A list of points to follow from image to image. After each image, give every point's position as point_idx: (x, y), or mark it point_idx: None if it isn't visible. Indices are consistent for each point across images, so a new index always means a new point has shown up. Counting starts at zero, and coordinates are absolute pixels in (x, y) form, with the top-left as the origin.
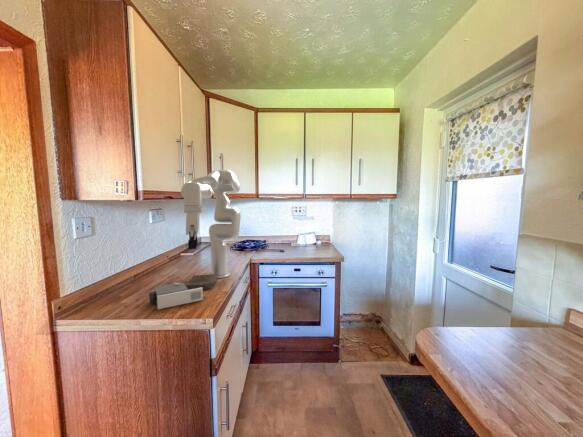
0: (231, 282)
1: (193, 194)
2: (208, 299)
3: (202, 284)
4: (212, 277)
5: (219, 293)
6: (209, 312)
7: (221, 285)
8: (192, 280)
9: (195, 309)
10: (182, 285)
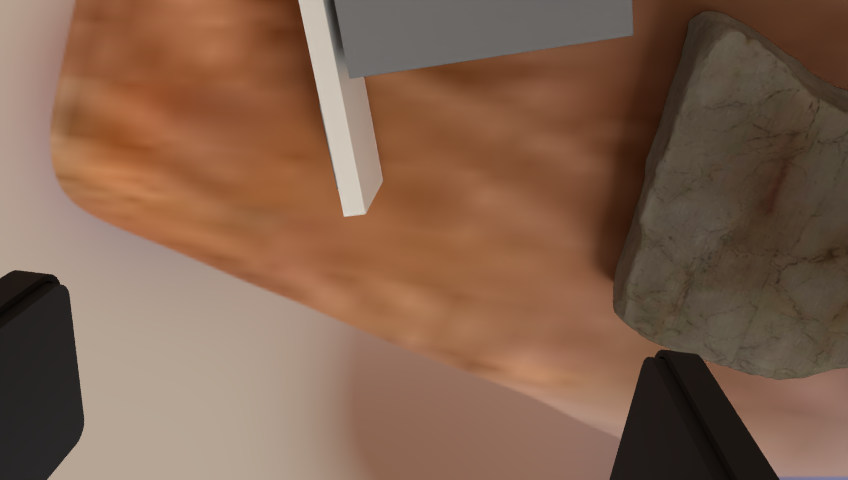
0: None
1: None
2: (372, 223)
3: (642, 225)
4: (798, 343)
5: (467, 319)
6: (129, 198)
7: None
8: (824, 142)
9: (208, 111)
10: (499, 26)
